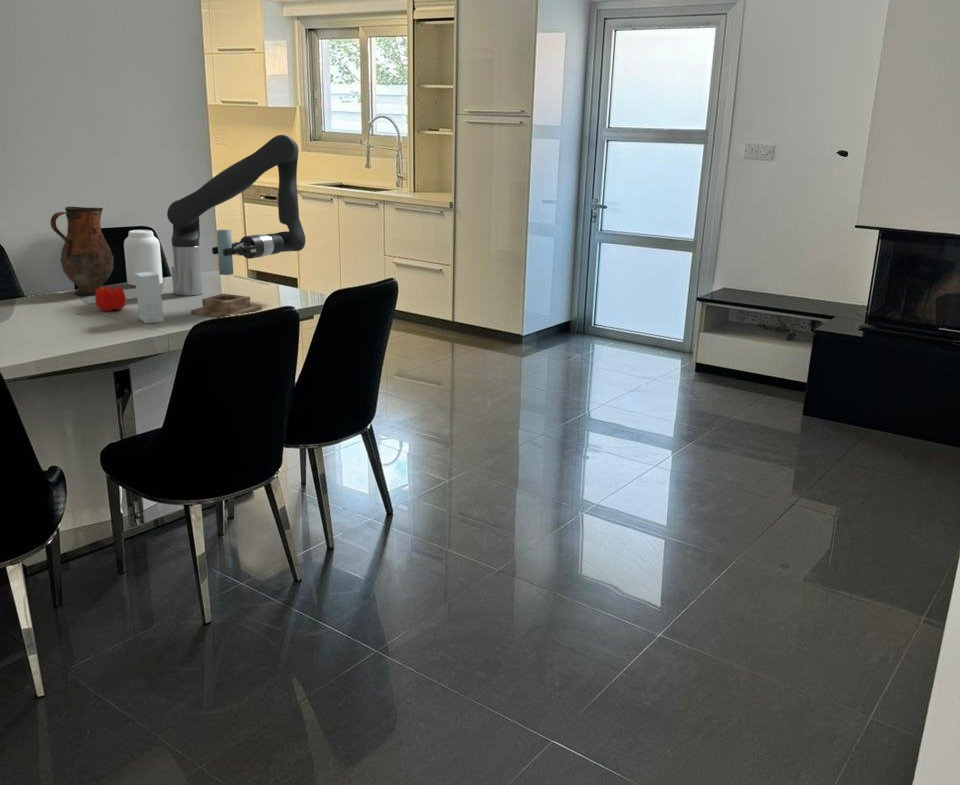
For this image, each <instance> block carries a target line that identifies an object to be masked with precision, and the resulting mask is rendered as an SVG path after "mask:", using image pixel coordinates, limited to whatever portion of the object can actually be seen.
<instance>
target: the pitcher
mask: <svg viewBox="0 0 960 785" xmlns="http://www.w3.org/2000/svg"><path fill="white" fill-rule="evenodd" d="M103 209H104V208H103V207H85V206H83V207H82V206H81V207H80V206H66V207H65V208H64V210H65V211H58V212H55V213H54V214H53V215H52V217H51V218H50V226H51V229H52V230H53V231H54V232H55V233H56V235H58V236H59V237H60V238H61V239H62V240H63V241H64V244H63V246H62V250H61V255H60V264H61V268H62V271H63V273H64V275H66V277H67V278H68V280H69V281H70V282H72V283H73V284H74V285H75V286H76V287H77V290H75V291H74V295H76V296H81V297H82V296H83V297H91V296H95V295H96V291H97V290H98V289H99V288H104V286H103V285H104V284H105V283H106V281H107V280H108V279H109V278H110V276H111V274H112V273H113V270H114V264H115V263H114V256H113V253H112V251H111V250H112V249H111V248H110V246H109V244H108V243H107V240H106V239H105V236H104V234H103V233H102V228H101V220H102V212H103ZM64 214H65V216H66V220H67V233H66V234H67V235H64V233H62V232H61V231H60V229H59V228H58V227H57V220H58V218H59V217H60V216H62V215H64Z"/></svg>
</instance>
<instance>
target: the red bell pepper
mask: <svg viewBox="0 0 960 785" xmlns="http://www.w3.org/2000/svg"><path fill="white" fill-rule="evenodd" d="M94 296H95V298H94V300H95V304H96V306H97V307H96V308H98V309H100V310H102V311H104V312H111V311H113V310H116V311H119V310H121V309H123V308H124V307H125V305H126V300H127V298H126V294H125V292H124V289H123V288H122V287H120V286H115V287H114V286H113V287H111V286H103V288H99V289H98V290H97V291H96V295H94Z"/></svg>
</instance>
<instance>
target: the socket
mask: <svg viewBox="0 0 960 785" xmlns="http://www.w3.org/2000/svg"><path fill="white" fill-rule="evenodd" d="M201 302H202V307H198V308H194V309H192V310H190V314H194V315H202V316H209V317H218V318H224V317H225V316H231V315H238V314H244V313H249V312H252V313H254V312H258V311H260V310H261V311H262V310H263V307H262V306H260V305H252V304H251V297H250V296H246V295H239V294H238V295H237V294H230V293H220V294H217V295H214V296H213V295H212V296H209V297H206V298H202V299H201ZM249 314H250V313H249Z"/></svg>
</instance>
